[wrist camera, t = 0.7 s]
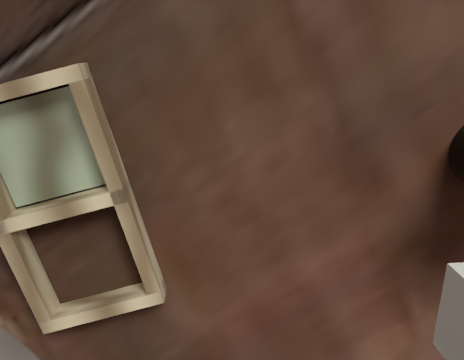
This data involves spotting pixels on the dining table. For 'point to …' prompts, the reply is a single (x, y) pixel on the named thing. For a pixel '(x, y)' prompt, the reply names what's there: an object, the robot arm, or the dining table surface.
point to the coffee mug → (457, 154)
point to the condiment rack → (66, 190)
